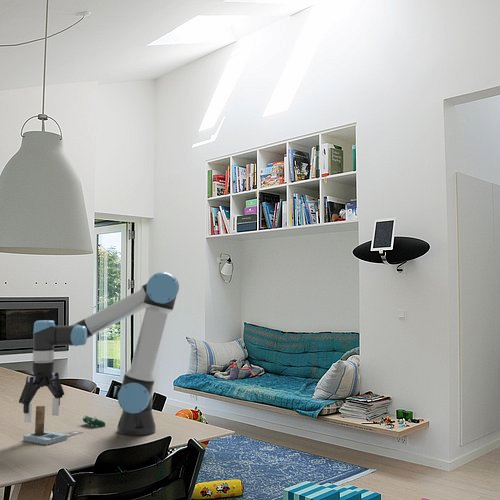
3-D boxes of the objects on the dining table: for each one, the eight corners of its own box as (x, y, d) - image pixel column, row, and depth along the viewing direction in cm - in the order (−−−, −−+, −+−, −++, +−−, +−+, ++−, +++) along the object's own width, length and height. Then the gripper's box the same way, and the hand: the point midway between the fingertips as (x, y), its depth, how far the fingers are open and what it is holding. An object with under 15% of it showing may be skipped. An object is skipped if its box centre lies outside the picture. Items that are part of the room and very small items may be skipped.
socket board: (67, 439, 232) (67, 434, 232) (46, 445, 223) (47, 440, 223) (43, 435, 237) (43, 430, 237) (23, 440, 229) (23, 435, 229)
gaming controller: (87, 428, 259) (79, 419, 256) (92, 420, 262) (84, 412, 259) (101, 431, 254) (93, 423, 251) (106, 424, 256) (99, 415, 253)
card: (83, 432, 243) (83, 432, 243) (65, 437, 235) (65, 437, 235) (74, 430, 246) (74, 430, 246) (56, 435, 237) (57, 435, 237)
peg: (45, 438, 232) (46, 406, 233) (39, 440, 229) (40, 407, 230) (39, 437, 234) (40, 405, 234) (32, 439, 231) (34, 406, 232)
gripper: (60, 357, 246) (58, 411, 245) (9, 364, 224) (7, 423, 223) (74, 358, 243) (73, 413, 241) (24, 365, 221) (22, 426, 219)
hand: (41, 418), depth 232 cm, fingers open, 13 cm apart
